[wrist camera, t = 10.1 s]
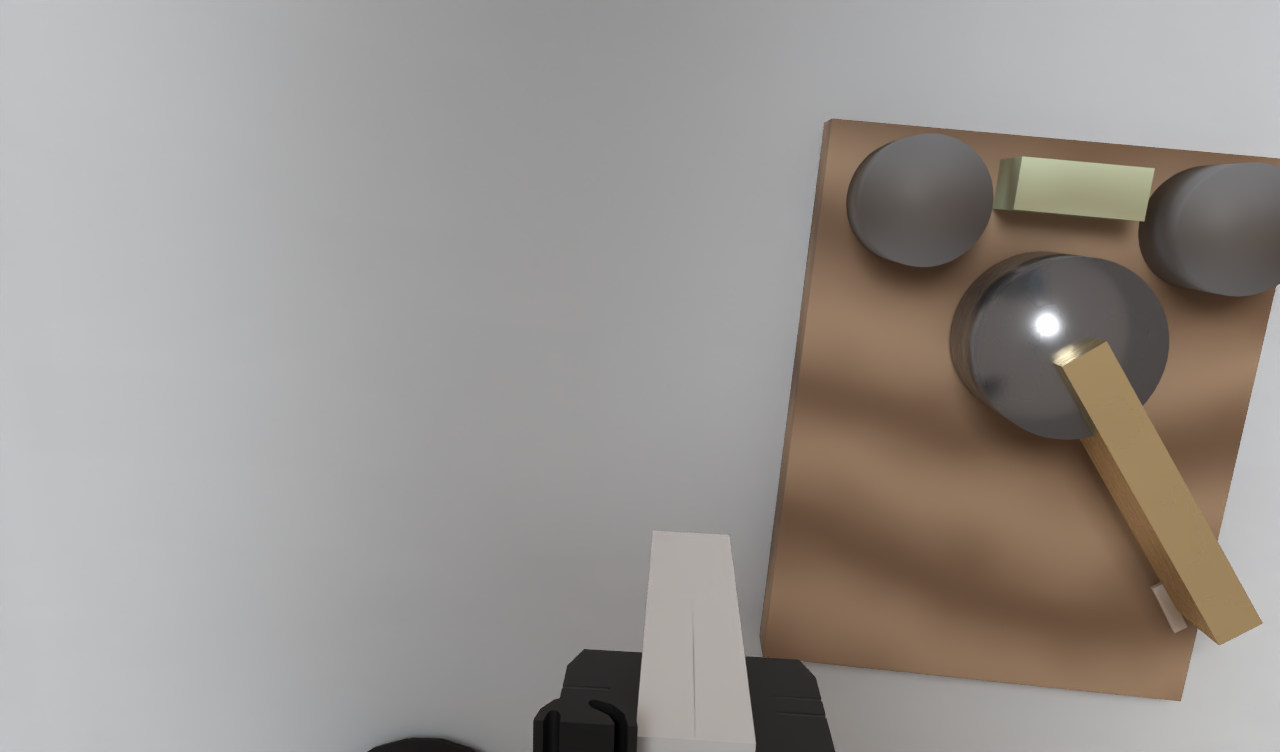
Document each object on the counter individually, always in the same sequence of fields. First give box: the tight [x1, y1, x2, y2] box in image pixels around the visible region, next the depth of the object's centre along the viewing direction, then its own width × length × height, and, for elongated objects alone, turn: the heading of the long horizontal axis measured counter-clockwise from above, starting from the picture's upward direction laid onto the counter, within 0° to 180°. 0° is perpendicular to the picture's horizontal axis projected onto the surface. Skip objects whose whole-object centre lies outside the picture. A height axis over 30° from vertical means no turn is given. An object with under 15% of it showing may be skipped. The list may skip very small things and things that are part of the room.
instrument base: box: [760, 119, 1280, 701], centre depth 38 cm, size 24×19×5 cm
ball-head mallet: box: [950, 251, 1262, 645], centre depth 36 cm, size 16×7×5 cm, turn 32°
